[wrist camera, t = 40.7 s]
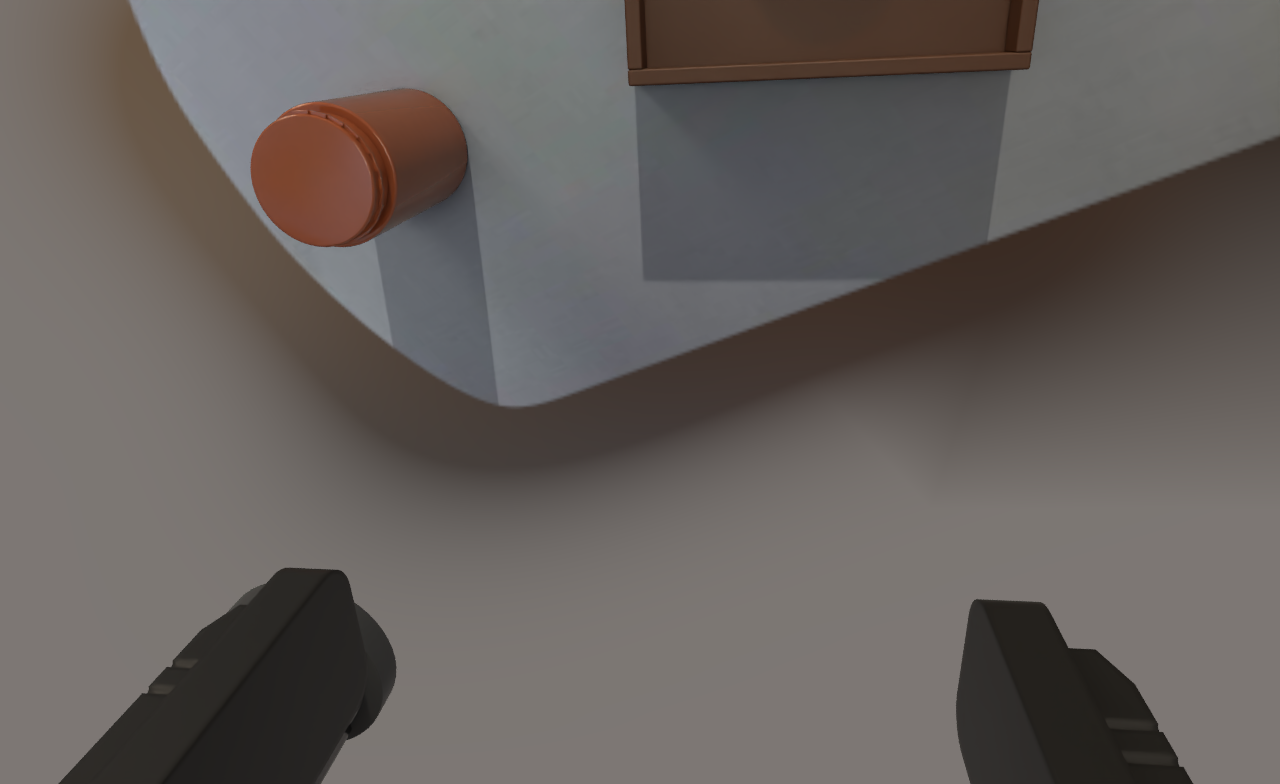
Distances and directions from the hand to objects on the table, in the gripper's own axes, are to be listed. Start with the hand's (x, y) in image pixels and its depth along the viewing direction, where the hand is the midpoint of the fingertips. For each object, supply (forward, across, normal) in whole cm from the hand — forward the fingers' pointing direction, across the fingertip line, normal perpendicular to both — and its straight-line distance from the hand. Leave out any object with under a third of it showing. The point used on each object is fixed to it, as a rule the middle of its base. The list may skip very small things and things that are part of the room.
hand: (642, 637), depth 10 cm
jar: (+28, +14, -3) cm, 32 cm away
